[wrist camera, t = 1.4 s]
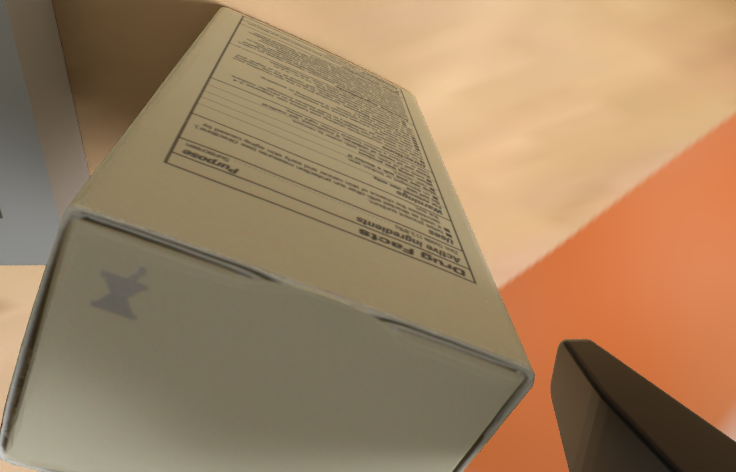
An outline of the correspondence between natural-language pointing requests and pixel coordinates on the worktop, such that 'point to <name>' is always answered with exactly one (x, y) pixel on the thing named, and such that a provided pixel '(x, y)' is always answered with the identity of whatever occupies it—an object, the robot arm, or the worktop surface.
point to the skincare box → (265, 284)
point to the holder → (35, 133)
